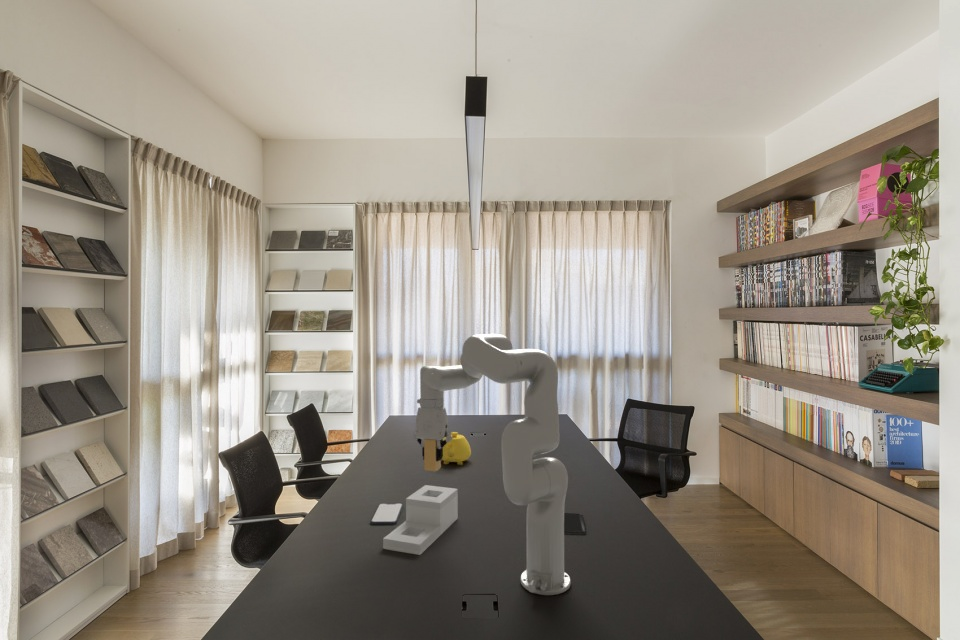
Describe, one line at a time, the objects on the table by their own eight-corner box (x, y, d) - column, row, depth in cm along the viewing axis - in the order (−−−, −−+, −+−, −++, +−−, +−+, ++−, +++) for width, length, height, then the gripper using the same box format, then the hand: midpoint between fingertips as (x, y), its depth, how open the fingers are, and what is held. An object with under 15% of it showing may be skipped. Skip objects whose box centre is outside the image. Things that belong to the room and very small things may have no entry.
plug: (435, 471, 165) (435, 440, 165) (424, 470, 166) (424, 439, 166) (440, 467, 169) (440, 437, 169) (429, 466, 170) (429, 436, 170)
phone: (582, 513, 174) (586, 532, 159) (582, 517, 174) (586, 535, 159) (559, 512, 175) (560, 530, 160) (559, 516, 175) (560, 534, 160)
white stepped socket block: (420, 555, 146) (419, 520, 146) (383, 548, 150) (383, 514, 150) (457, 518, 172) (457, 488, 172) (425, 513, 176) (425, 485, 176)
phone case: (396, 526, 167) (403, 507, 183) (396, 521, 167) (403, 503, 183) (369, 527, 167) (379, 507, 183) (369, 522, 167) (379, 503, 183)
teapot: (466, 470, 227) (465, 439, 227) (431, 468, 229) (431, 438, 229) (473, 457, 246) (473, 429, 246) (442, 456, 249) (442, 428, 249)
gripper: (403, 404, 167) (404, 460, 167) (451, 406, 161) (451, 464, 161) (414, 400, 174) (415, 454, 174) (460, 402, 168) (460, 458, 168)
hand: (432, 458), depth 167 cm, fingers closed on plug, 3 cm apart
